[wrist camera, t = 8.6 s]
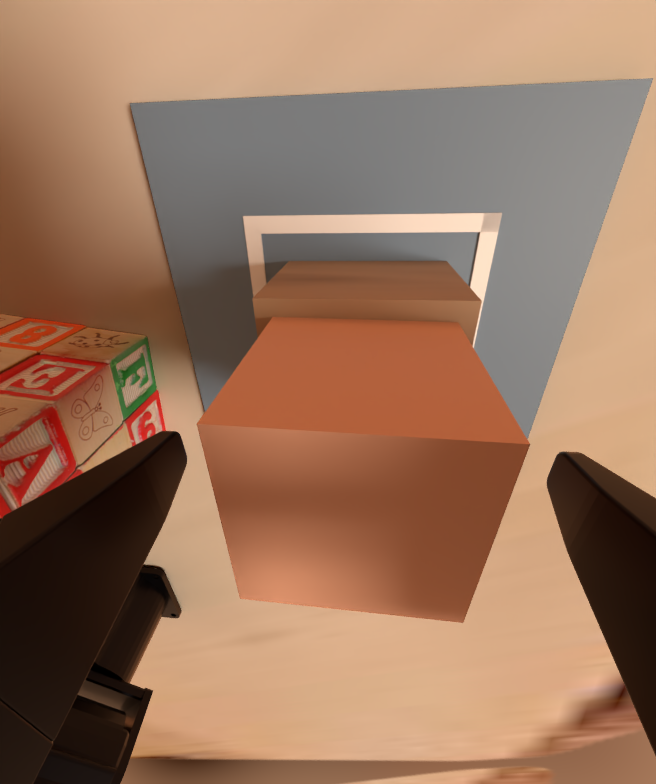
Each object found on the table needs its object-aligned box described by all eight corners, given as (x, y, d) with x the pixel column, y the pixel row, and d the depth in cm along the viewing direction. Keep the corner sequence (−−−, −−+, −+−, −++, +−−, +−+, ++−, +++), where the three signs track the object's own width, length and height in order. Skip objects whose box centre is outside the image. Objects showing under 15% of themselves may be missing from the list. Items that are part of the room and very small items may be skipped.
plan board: (508, 473, 19) (513, 483, 18) (221, 456, 21) (216, 464, 20) (639, 82, 11) (655, 77, 10) (140, 106, 12) (127, 102, 12)
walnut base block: (426, 396, 16) (445, 474, 12) (298, 392, 17) (274, 463, 13) (446, 260, 13) (481, 300, 9) (289, 260, 14) (252, 298, 10)
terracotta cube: (430, 463, 12) (463, 622, 8) (285, 454, 12) (240, 598, 8) (458, 322, 9) (530, 444, 5) (272, 316, 10) (196, 423, 6)
